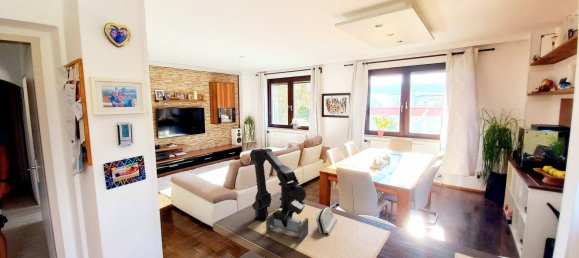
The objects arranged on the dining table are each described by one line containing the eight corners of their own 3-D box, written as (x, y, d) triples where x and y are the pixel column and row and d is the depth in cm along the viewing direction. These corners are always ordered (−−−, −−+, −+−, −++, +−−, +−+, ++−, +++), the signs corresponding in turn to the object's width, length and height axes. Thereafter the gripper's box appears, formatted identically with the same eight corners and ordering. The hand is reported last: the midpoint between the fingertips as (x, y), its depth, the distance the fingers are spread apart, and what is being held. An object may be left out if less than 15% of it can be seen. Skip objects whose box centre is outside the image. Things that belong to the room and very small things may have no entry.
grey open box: (266, 232, 122) (266, 217, 121) (275, 225, 130) (275, 210, 129) (300, 242, 113) (300, 226, 112) (308, 233, 121) (308, 218, 120)
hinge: (329, 235, 119) (322, 216, 120) (320, 236, 121) (314, 217, 122) (337, 220, 134) (331, 203, 135) (329, 221, 136) (324, 204, 137)
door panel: (274, 229, 124) (273, 216, 123) (276, 227, 126) (276, 214, 125) (299, 236, 117) (299, 222, 116) (301, 233, 119) (301, 220, 118)
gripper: (293, 205, 108) (293, 239, 109) (309, 192, 124) (309, 221, 126) (271, 201, 113) (271, 233, 114) (290, 188, 129) (290, 216, 131)
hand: (287, 225), depth 121 cm, fingers open, 3 cm apart
